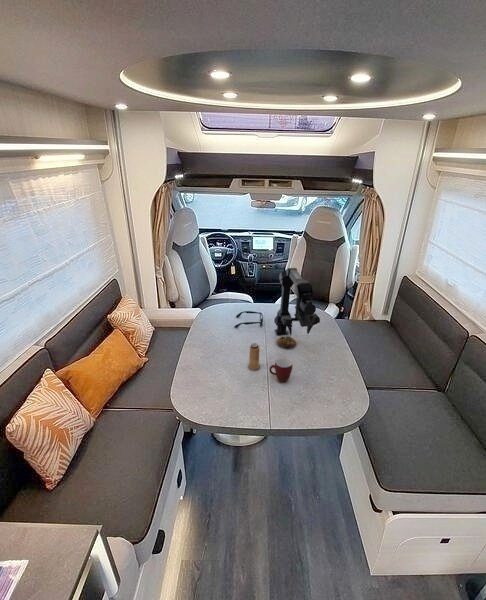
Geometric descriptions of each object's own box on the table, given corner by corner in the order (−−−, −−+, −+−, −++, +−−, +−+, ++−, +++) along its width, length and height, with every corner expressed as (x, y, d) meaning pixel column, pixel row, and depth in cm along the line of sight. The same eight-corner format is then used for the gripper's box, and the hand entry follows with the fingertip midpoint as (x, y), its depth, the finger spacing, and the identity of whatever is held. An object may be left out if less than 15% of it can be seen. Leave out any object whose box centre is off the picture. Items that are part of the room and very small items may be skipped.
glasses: (262, 330, 194) (263, 323, 192) (234, 328, 193) (234, 321, 191) (262, 318, 209) (263, 311, 207) (236, 316, 209) (236, 309, 207)
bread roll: (282, 350, 171) (282, 341, 170) (273, 342, 181) (273, 334, 180) (299, 347, 176) (300, 338, 174) (290, 340, 186) (290, 332, 184)
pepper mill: (248, 365, 158) (248, 342, 153) (257, 364, 159) (258, 342, 154) (250, 370, 154) (250, 348, 149) (259, 369, 155) (260, 347, 150)
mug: (268, 384, 145) (269, 366, 141) (269, 374, 152) (269, 356, 148) (291, 386, 144) (293, 368, 140) (290, 375, 151) (292, 357, 147)
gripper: (288, 314, 144) (286, 344, 150) (326, 312, 148) (322, 340, 154) (281, 305, 154) (279, 332, 160) (317, 302, 158) (314, 329, 164)
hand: (299, 334), depth 159 cm, fingers open, 9 cm apart
